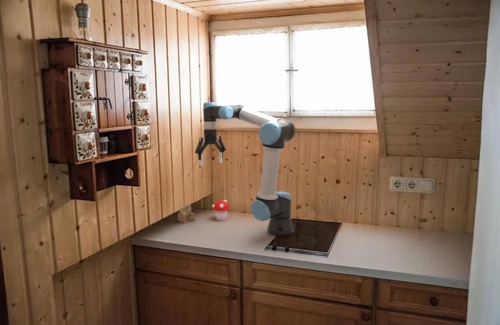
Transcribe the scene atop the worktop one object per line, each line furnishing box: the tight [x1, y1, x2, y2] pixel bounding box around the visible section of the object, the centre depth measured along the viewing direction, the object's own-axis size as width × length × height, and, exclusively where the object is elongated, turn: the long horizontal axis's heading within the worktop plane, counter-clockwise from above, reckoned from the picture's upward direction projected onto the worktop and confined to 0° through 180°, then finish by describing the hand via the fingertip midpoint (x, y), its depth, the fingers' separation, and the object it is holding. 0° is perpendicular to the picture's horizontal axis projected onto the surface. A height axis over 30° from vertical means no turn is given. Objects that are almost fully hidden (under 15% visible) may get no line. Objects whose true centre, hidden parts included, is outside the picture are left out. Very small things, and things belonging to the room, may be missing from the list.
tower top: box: [179, 205, 192, 215], centre depth 267 cm, size 5×5×5 cm
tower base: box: [177, 211, 196, 224], centre depth 268 cm, size 8×8×5 cm
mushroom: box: [211, 199, 230, 221], centre depth 271 cm, size 11×11×12 cm
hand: (211, 164), depth 257 cm, fingers open, 13 cm apart
